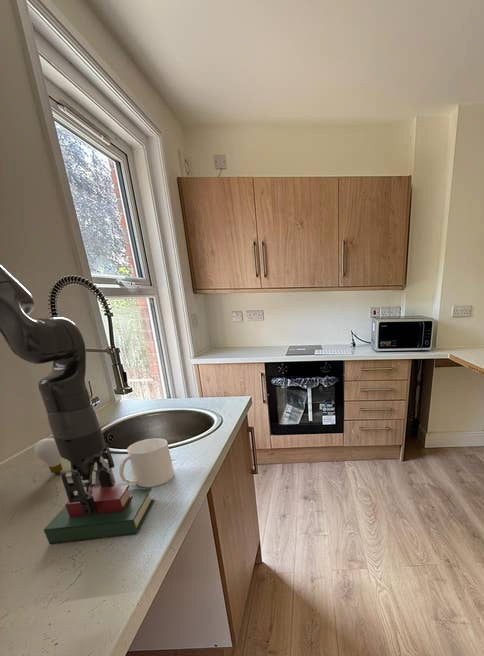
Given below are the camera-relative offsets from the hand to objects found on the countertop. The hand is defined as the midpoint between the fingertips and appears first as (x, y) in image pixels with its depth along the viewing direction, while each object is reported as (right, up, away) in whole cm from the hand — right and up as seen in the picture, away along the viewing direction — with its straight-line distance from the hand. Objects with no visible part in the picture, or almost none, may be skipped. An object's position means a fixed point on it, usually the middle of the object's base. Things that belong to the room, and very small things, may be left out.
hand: (100, 501), depth 72 cm
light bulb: (-25, +3, +22) cm, 34 cm away
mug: (+2, +2, +17) cm, 17 cm away
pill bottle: (-8, 0, +14) cm, 16 cm away
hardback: (0, -4, +2) cm, 5 cm away
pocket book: (0, -1, +1) cm, 1 cm away
